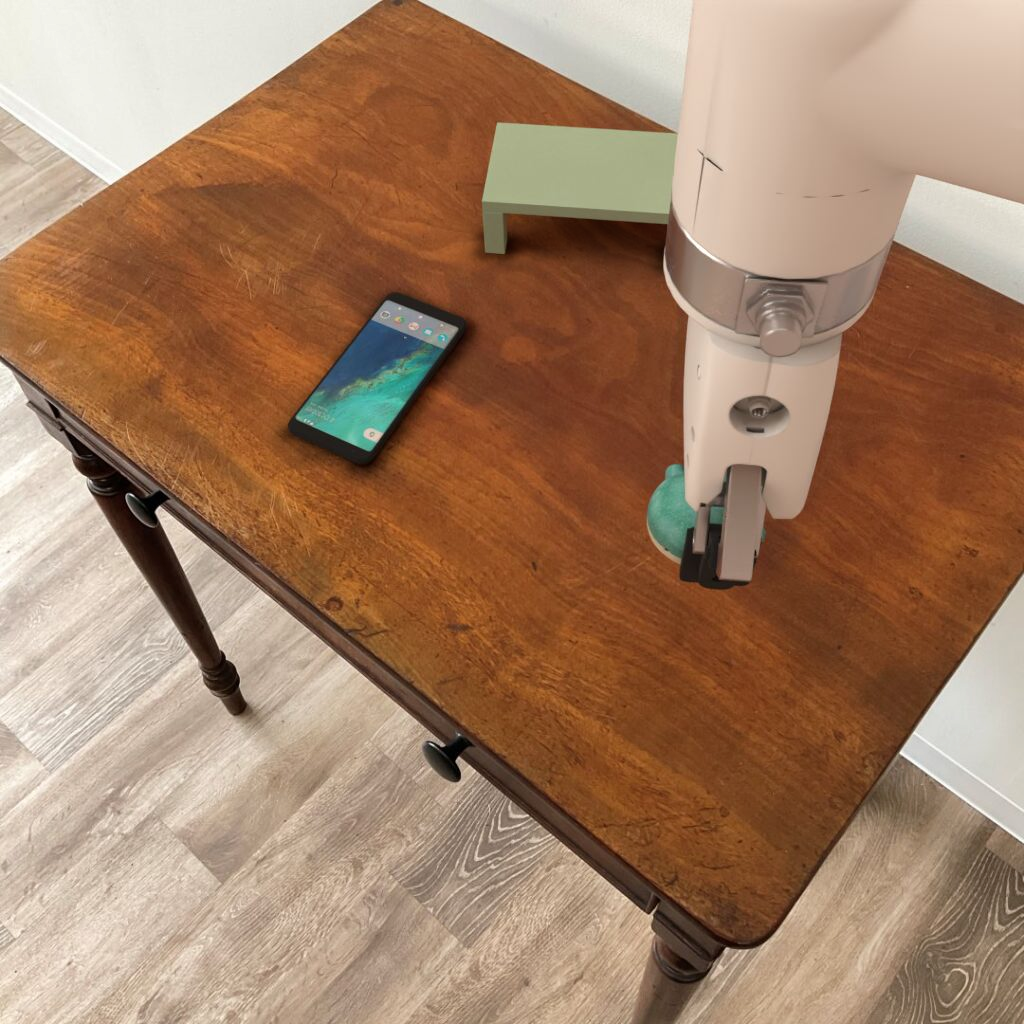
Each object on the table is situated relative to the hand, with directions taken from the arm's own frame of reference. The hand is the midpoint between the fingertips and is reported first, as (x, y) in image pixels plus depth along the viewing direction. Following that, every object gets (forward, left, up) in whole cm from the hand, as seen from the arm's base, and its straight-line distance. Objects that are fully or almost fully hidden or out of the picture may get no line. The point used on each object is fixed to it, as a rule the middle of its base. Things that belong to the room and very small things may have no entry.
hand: (714, 506), depth 53 cm
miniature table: (+9, -39, -19) cm, 44 cm away
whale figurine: (0, 0, -1) cm, 1 cm away
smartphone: (+23, -21, -19) cm, 36 cm away
